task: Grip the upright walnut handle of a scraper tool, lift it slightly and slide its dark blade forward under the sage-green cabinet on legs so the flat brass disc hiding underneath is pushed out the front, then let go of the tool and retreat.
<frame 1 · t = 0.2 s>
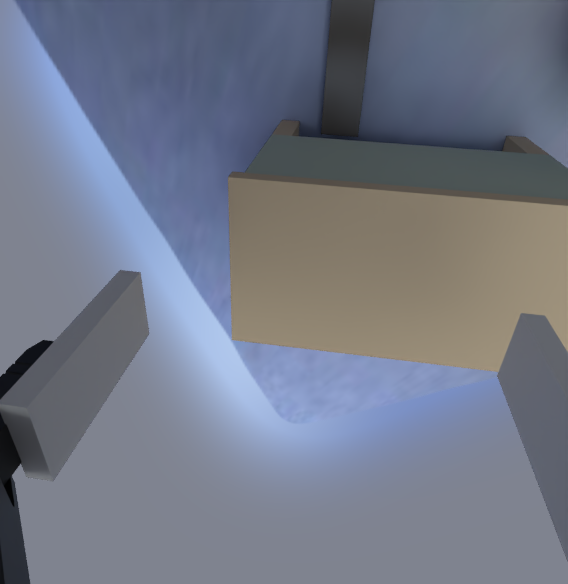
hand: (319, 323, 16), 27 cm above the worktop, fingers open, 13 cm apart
cabinet: (391, 186, 41), on the worktop
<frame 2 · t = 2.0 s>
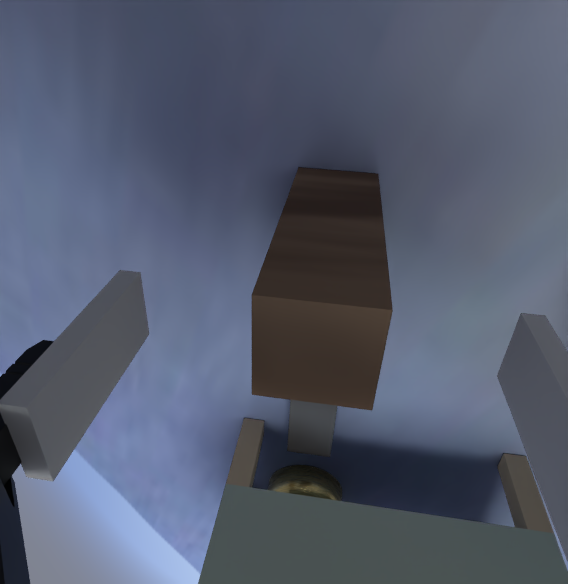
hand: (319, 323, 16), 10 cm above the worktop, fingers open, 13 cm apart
cabinet: (371, 479, 35), on the worktop
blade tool: (334, 207, 24), on the worktop
token: (305, 487, 37), on the worktop
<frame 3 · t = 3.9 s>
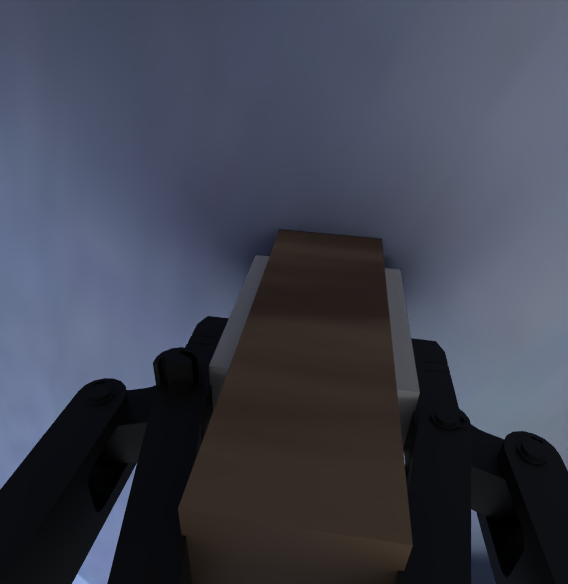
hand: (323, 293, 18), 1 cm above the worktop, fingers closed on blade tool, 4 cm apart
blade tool: (325, 278, 19), on the worktop, touching gripper
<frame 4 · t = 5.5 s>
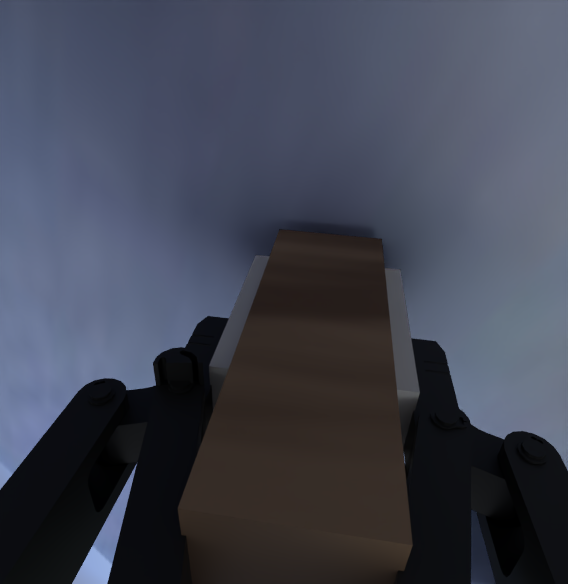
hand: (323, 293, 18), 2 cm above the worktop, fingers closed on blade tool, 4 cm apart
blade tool: (325, 278, 19), point 1 cm above the worktop, touching gripper
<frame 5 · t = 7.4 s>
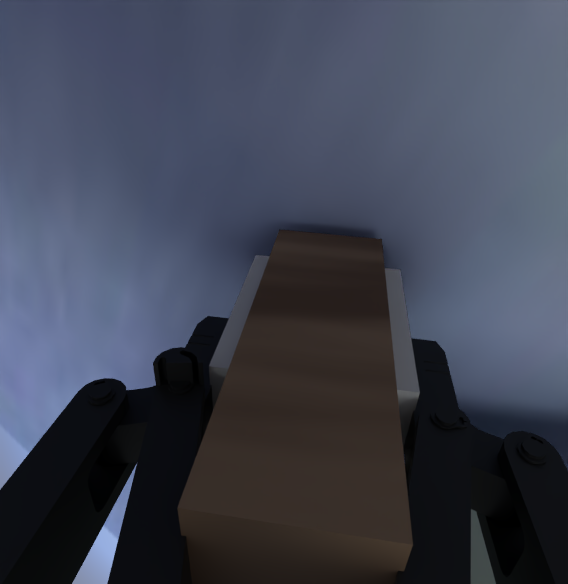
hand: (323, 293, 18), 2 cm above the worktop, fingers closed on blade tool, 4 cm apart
cabinet: (399, 453, 25), on the worktop
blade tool: (325, 278, 19), point 1 cm above the worktop, touching gripper
when the fingers open (2 cm above the worktop, at t = 9.3 s): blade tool stays where it is, on the worktop.
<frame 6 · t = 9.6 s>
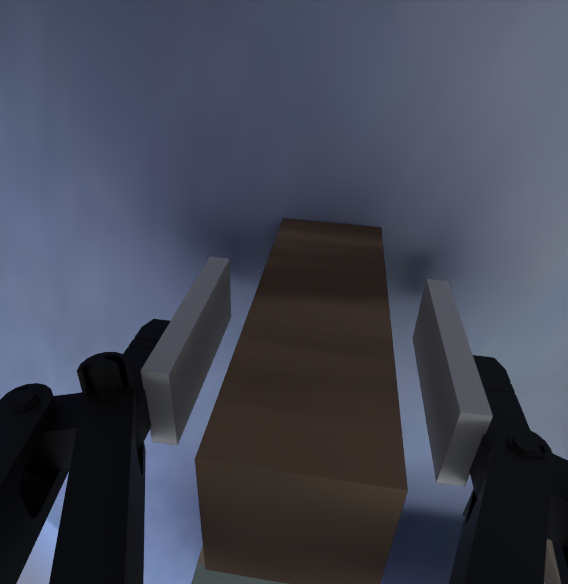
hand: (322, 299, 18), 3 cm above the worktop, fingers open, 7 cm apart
cabinet: (376, 544, 30), on the worktop
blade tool: (327, 266, 20), on the worktop
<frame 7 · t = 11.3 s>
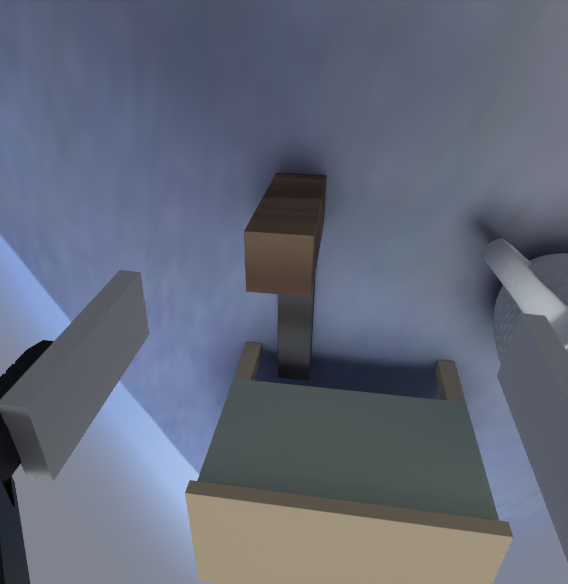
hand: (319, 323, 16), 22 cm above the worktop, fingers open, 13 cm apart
cabinet: (343, 390, 47), on the worktop
mug: (536, 280, 38), on the worktop
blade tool: (300, 198, 37), on the worktop
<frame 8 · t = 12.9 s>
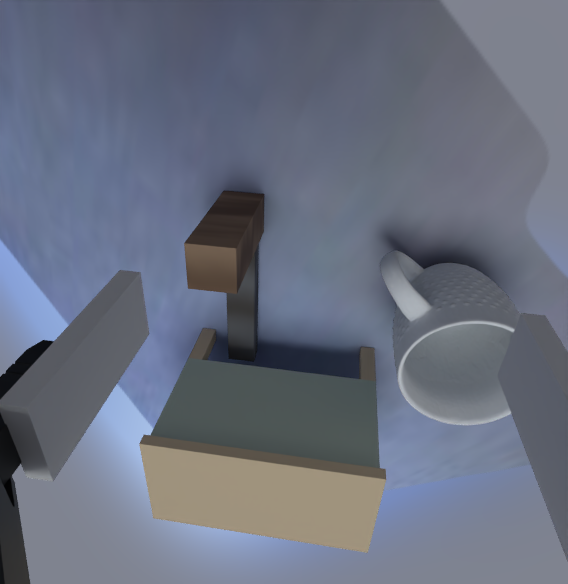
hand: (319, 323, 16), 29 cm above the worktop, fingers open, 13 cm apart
cabinet: (285, 370, 56), on the worktop
mug: (435, 283, 47), on the worktop
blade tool: (244, 211, 45), on the worktop
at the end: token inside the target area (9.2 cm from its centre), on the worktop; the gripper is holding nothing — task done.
